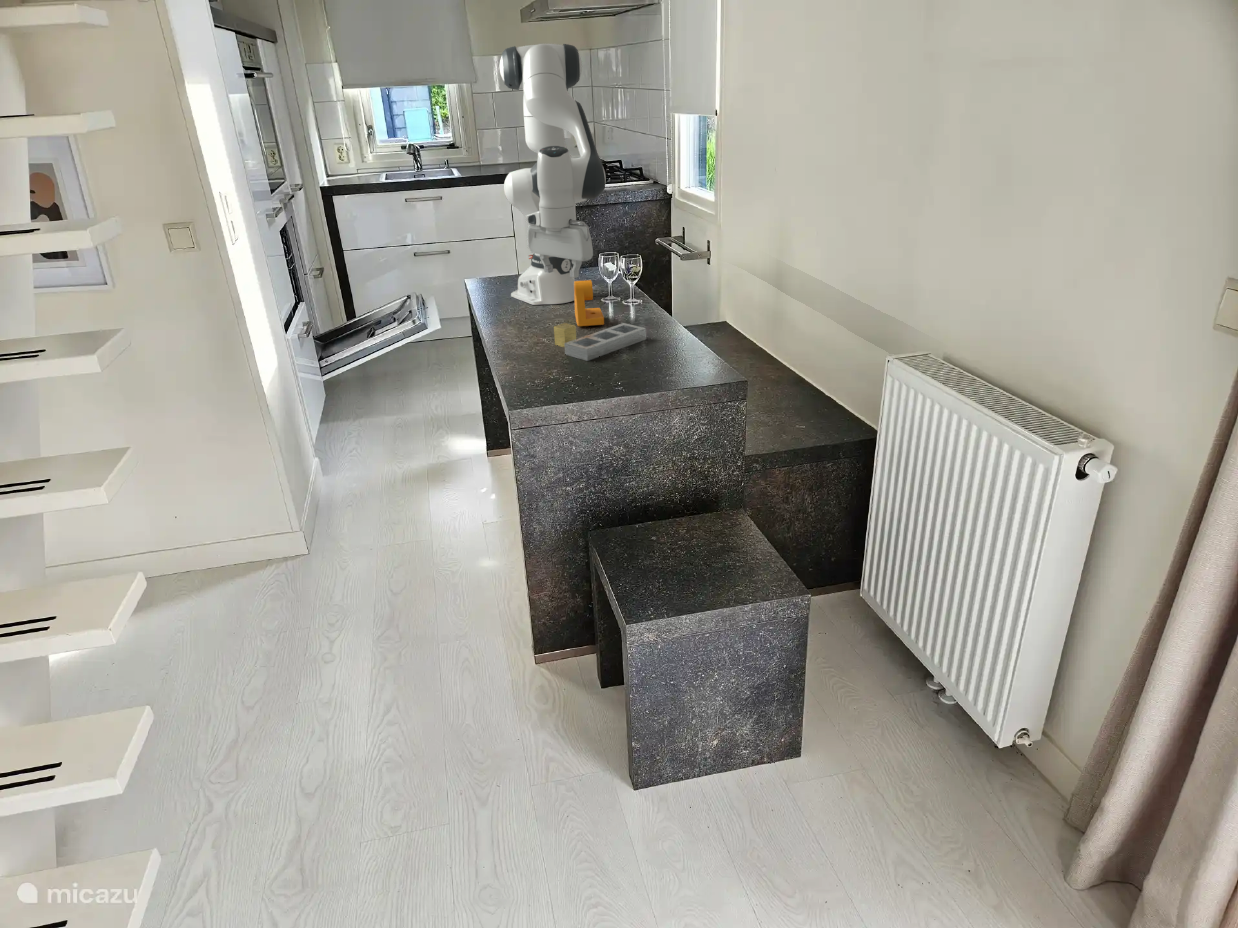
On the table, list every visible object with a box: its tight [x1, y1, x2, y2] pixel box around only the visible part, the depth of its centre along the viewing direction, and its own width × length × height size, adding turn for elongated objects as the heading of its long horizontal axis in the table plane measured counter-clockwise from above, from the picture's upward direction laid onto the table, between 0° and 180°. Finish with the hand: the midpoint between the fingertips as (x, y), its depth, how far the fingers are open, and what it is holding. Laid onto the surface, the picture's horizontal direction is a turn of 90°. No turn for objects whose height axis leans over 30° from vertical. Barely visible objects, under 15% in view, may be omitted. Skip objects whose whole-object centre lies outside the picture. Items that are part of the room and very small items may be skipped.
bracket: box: [574, 279, 605, 327], centre depth 227 cm, size 11×7×12 cm, turn 8°
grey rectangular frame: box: [564, 322, 647, 361], centre depth 209 cm, size 8×22×3 cm, turn 137°
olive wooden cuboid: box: [553, 322, 577, 348], centre depth 211 cm, size 4×4×5 cm
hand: (561, 274), depth 204 cm, fingers open, 8 cm apart
